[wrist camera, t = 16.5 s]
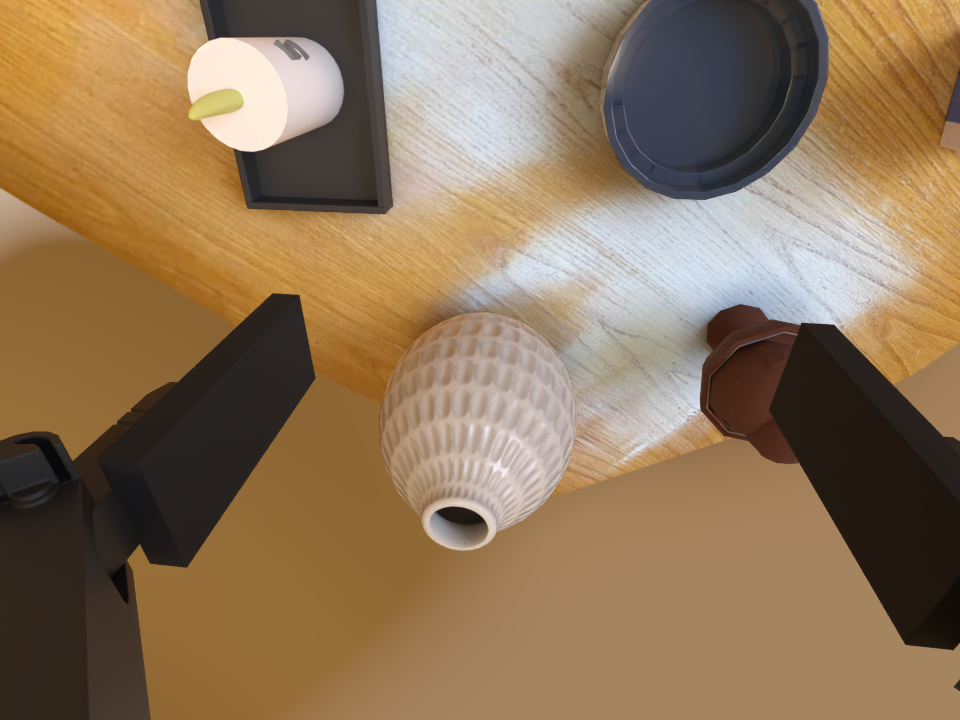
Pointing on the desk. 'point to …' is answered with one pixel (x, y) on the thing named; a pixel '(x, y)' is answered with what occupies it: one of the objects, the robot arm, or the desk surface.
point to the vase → (477, 426)
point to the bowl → (712, 91)
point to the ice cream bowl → (747, 377)
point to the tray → (338, 144)
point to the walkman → (952, 122)
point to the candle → (263, 89)
